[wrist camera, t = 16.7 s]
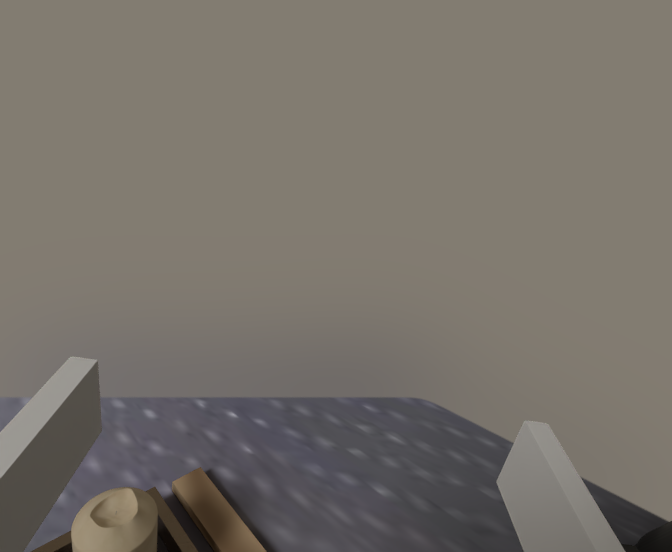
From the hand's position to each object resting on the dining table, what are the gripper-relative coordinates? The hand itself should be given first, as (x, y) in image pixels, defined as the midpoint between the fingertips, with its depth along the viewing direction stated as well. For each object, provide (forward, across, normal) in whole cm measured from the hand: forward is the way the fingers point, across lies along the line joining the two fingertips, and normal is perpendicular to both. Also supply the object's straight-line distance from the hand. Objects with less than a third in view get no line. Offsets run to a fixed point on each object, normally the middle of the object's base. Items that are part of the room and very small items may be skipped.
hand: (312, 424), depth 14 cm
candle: (+11, -11, -30) cm, 34 cm away
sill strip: (+17, -5, -30) cm, 35 cm away
